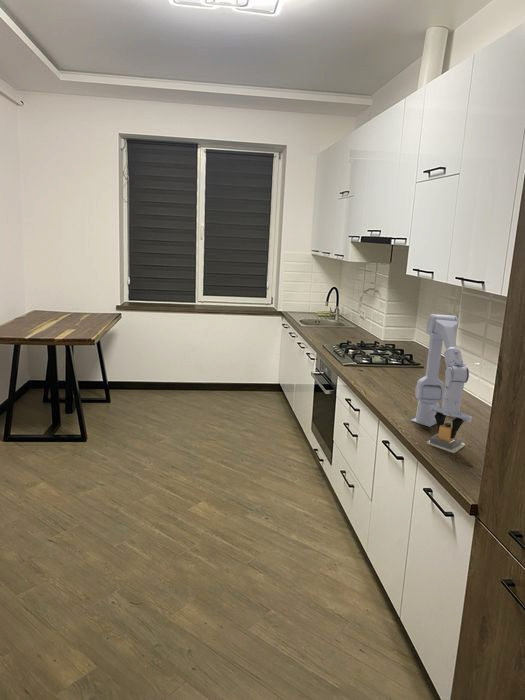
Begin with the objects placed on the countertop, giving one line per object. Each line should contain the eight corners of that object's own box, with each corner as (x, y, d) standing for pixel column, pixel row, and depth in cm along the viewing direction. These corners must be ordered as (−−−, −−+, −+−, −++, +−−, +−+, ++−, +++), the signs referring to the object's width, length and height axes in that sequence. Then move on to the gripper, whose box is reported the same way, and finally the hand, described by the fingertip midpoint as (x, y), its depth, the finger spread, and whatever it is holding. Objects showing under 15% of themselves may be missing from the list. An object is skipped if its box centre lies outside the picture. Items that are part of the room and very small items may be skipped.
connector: (445, 434, 187) (448, 419, 186) (456, 437, 185) (459, 422, 184) (437, 439, 182) (440, 423, 181) (448, 443, 179) (451, 427, 178)
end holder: (438, 437, 191) (439, 429, 190) (464, 445, 184) (466, 438, 184) (426, 443, 183) (427, 436, 183) (453, 453, 177) (455, 445, 176)
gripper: (428, 395, 181) (422, 431, 184) (469, 407, 172) (462, 445, 175) (436, 392, 186) (430, 427, 189) (476, 403, 177) (469, 439, 180)
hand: (446, 435), depth 182 cm, fingers closed on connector, 4 cm apart
